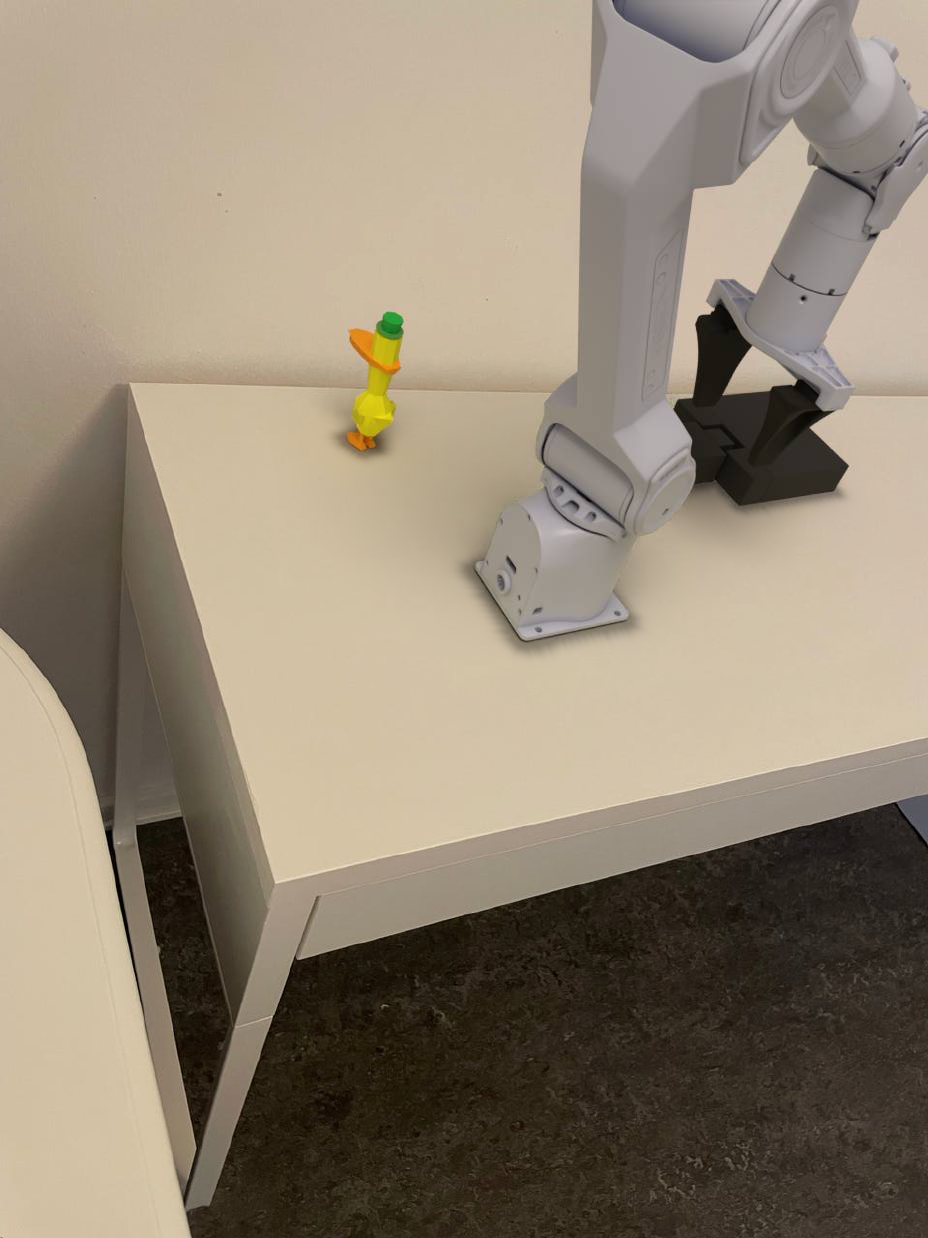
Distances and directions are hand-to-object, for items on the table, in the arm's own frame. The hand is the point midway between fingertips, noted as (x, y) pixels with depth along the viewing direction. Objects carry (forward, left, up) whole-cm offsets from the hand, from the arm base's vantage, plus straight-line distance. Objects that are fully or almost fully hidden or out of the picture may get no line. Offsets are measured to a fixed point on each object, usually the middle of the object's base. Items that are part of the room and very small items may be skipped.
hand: (730, 433), depth 81 cm
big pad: (+13, +7, -9) cm, 18 cm away
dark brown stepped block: (+4, +7, -9) cm, 12 cm away
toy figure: (-24, +15, -10) cm, 30 cm away
